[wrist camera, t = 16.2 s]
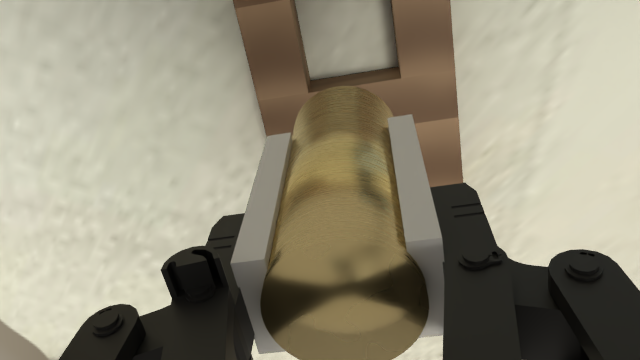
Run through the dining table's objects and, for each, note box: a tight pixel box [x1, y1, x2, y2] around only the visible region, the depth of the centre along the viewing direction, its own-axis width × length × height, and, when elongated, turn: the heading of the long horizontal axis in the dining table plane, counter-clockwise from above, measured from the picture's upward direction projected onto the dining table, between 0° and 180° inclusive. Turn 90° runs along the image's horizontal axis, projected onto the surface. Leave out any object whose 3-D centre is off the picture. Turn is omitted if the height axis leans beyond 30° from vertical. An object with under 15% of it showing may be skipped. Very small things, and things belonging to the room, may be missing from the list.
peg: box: [260, 86, 429, 360], centre depth 16 cm, size 4×4×9 cm
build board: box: [233, 0, 463, 187], centre depth 33 cm, size 16×11×2 cm
